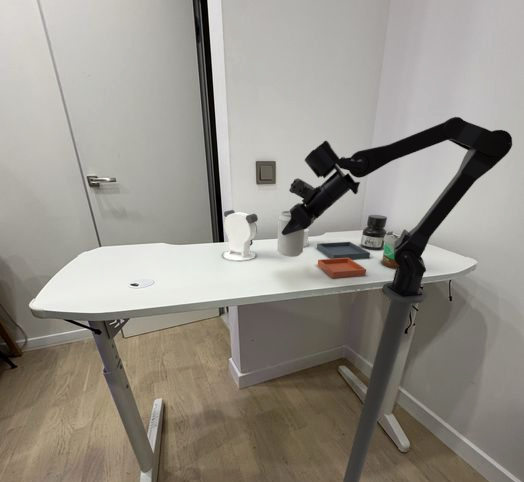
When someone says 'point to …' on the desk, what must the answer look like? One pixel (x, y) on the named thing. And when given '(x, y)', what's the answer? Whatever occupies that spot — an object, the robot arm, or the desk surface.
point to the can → (289, 238)
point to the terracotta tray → (341, 267)
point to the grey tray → (342, 250)
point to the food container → (389, 250)
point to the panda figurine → (240, 235)
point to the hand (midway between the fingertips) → (286, 230)
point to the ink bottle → (374, 232)
